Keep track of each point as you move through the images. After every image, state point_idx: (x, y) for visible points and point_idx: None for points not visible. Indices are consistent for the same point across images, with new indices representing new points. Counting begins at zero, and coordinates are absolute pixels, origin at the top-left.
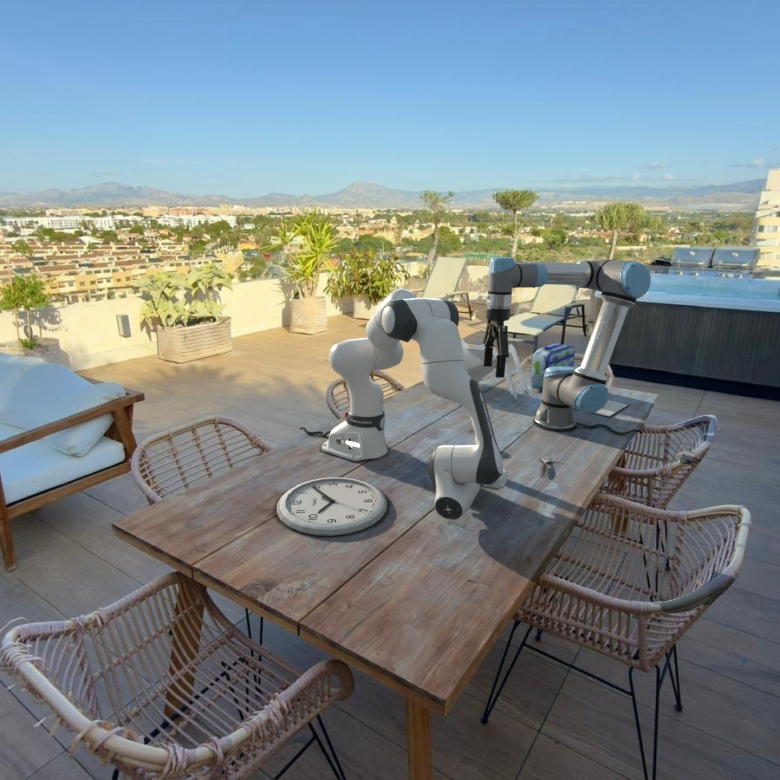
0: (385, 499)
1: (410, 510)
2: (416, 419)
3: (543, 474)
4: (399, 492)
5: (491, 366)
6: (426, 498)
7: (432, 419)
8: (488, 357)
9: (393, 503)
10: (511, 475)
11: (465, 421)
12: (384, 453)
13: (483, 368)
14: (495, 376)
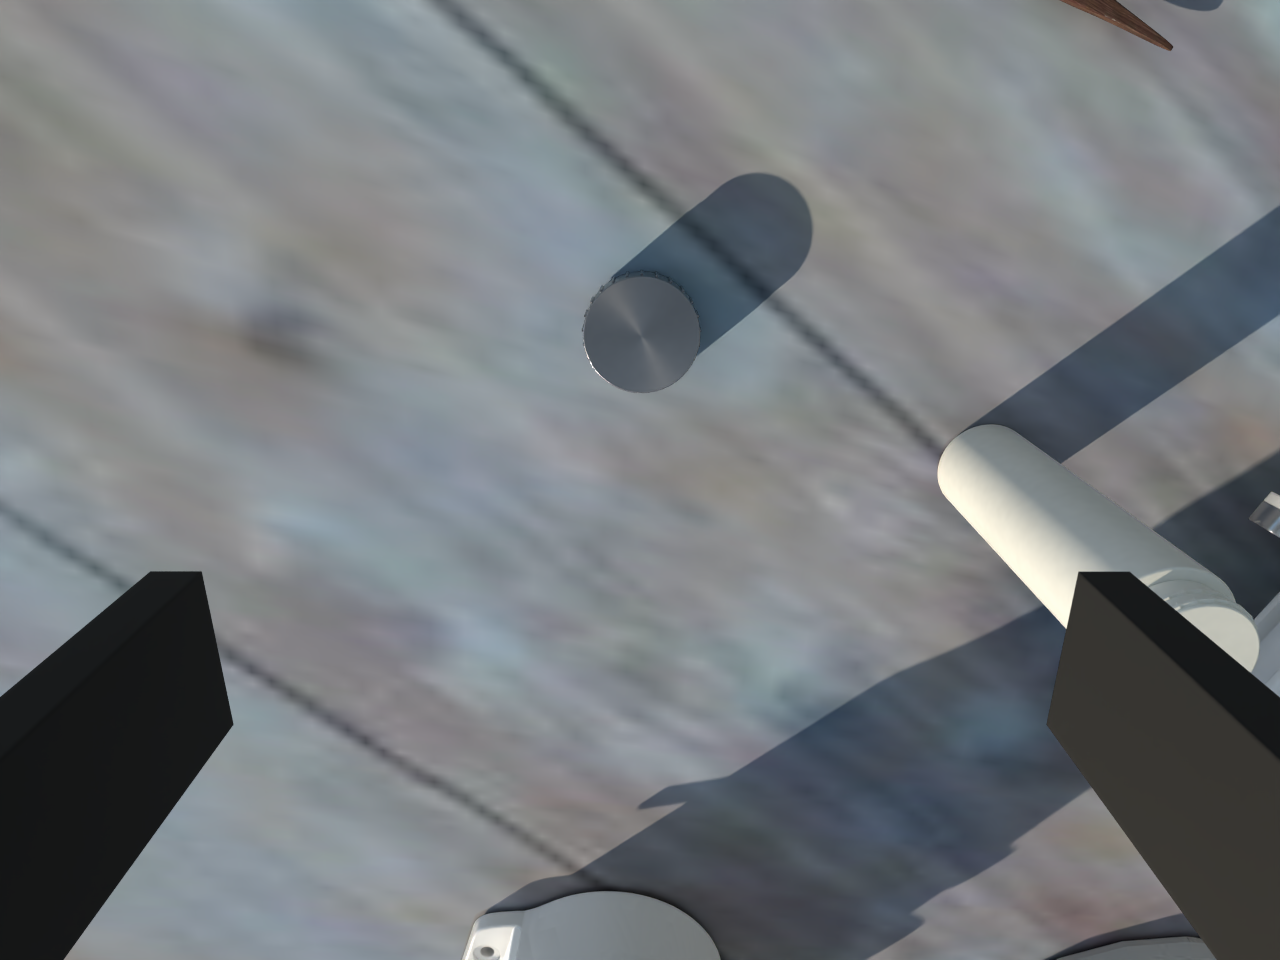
0: (1177, 950)
1: None
2: None
3: (1168, 43)
4: (1096, 881)
5: (199, 576)
6: None
7: (55, 580)
8: (87, 802)
9: None
10: (1072, 279)
11: (53, 339)
12: (676, 914)
13: None
14: (1069, 735)
